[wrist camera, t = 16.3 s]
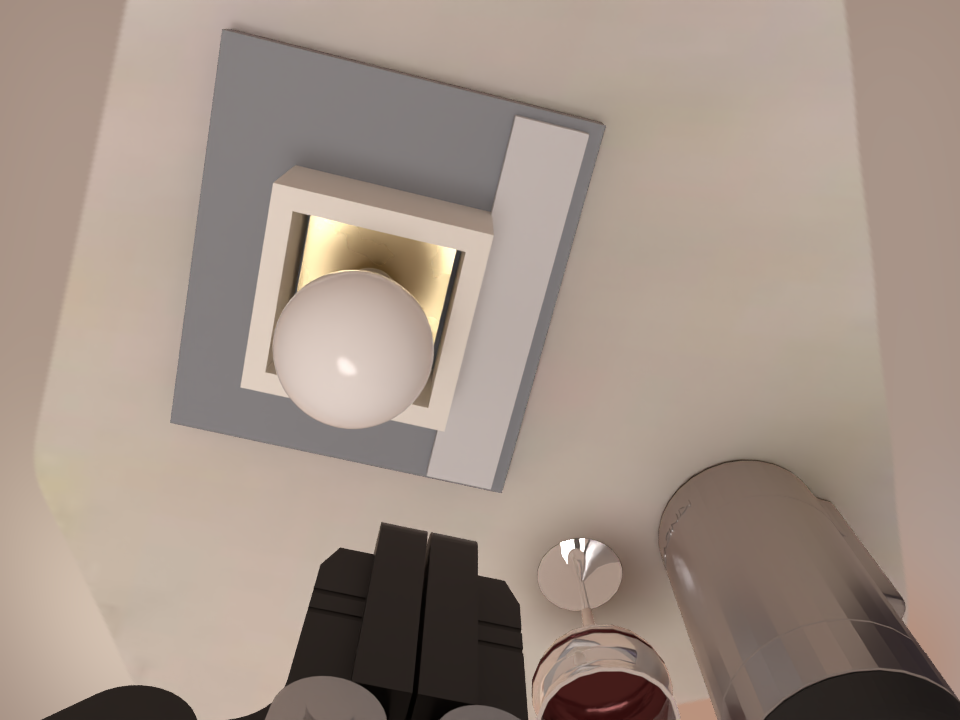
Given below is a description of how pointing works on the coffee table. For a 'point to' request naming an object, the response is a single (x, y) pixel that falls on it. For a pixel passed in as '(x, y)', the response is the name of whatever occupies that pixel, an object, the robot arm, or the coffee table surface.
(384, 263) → the socket plunger
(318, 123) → the socket board
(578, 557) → the wineglass
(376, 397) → the lightbulb
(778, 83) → the coffee table surface
